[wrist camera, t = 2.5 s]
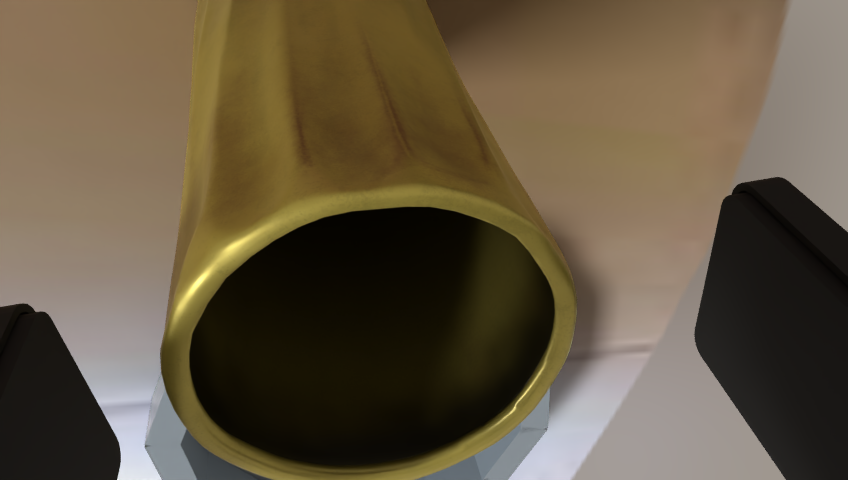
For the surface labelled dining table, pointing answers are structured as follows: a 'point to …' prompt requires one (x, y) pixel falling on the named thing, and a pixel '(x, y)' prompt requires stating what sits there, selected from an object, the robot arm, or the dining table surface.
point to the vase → (352, 251)
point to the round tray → (212, 476)
